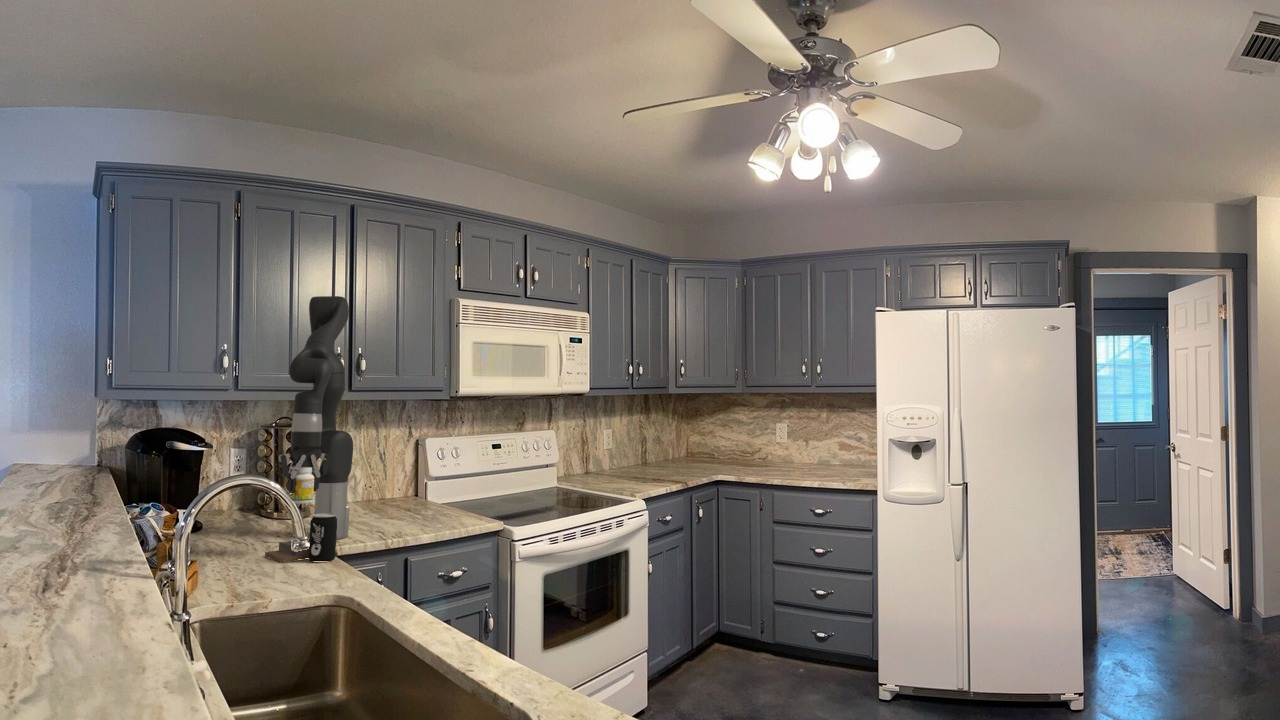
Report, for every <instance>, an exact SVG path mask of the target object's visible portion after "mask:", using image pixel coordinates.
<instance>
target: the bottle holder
mask: <svg viewBox="0 0 1280 720" xmlns="http://www.w3.org/2000/svg"><path fill="white" fill-rule="evenodd" d="M308 538H309V540H310V537H308ZM265 556H267V557H270V558H272V559H271V560H273V559H275V560H274V561H276V560H278V561H277V562H279V561H281V562H280V563H282V562H286V563H289V562H288V561H293V562H295V561H294V560H298V559H305V558H309V549H307V550H302V551H298V552H294V551H292V550H291V540H286V541H279V542H278V550H272V551H265V552H264V557H265ZM267 557H266V558H267ZM270 558H269V559H270Z"/></svg>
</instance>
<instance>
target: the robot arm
mask: <svg viewBox="0 0 1280 720" xmlns="http://www.w3.org/2000/svg"><path fill="white" fill-rule="evenodd" d="M308 313H309V323H310V324H309V325H310V335H309V337H308V338H307V340H306V341H305V344H304V345H305V346H304V348H303V349H302V350H301V351H300V352H299V353H297V355H296V356H295V357H294V358H293V359H292V361H291V363H290V364H289V368H288V373H289V377H290V379H291V381H293V382H295V383H298V384H312V386H313V388H312V389H310V390H306V391H300V392H298V393H296V394H295V396H294V405H293V416H292V422H291V436H290V449H289V452H288V453H285V454H278V456H277V461H278V469H279V476H280V477H283V478H286V479H287V482H286V490H287V492H288V493H289V494H292V493H295V482H296V479H294V478H295V476H296V475H297V472H298V471H299V470H300V468H301V467H312V473H311V475H313V476H314V494H315V495H314V510H313V511H314V512H313V515H314V514H321V513H333V514H336V518H337V540H340V539H344V538H348V537H349V522H350V506H349V505H347V504H348V489H349V488H348V487H349V486H348V485H349V476H350V474H351V471H352V465H353V455H354V440H353V437H352V436H351V434H350V433H349V432H347V431H345V430H339V429H338V430H337V425H336V424H337V421H336V420H337V411H338V407H339V406H340V403H341V401H342V398H343V395H344V394H345V390H346V373H345V372H346V368H345V366H344V364H343V362H342V360H341V358H340V357H339V356H338V354H337V353H336V352H335V350H334V349H333V346H334V344H335V342H336V340H337V338H338V337H339V336H340V334H341V333H342V331H343V329H344V327H345V326H346V324H347V322H348V320H349V318H350V308H349V303H348V299H346V297H344V296H337V295H333V296H332V295H331V296H330V295H329V296H328V295H326V296H323V295H321V296H318V295H317V296H312V297H311V298H310V300H309V305H308ZM289 459H290V461H291V464H290V465H289V469H288V462H289ZM319 459H320V461H321V462H320V466H319V464H318V461H319Z"/></svg>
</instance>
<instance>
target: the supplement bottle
mask: <svg viewBox="0 0 1280 720" xmlns="http://www.w3.org/2000/svg"><path fill="white" fill-rule="evenodd" d="M311 473H312V467H301V468H300V470H299V471H298V472H297V474H296V476H295V478H294V479H296V482H295V493H291V500H292V499H293V500H294V502H295V503H294V504H300V505H301V504H302V505H303V504H311V503H313V502H314V494H315V492H314V476H313V475H312V474H311Z"/></svg>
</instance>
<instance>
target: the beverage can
mask: <svg viewBox="0 0 1280 720" xmlns="http://www.w3.org/2000/svg"><path fill="white" fill-rule="evenodd" d="M309 525H310V526H309V527H310V528H309V538H310V540H309V542H310V547H309V559H308V560H309V561H310V562H311V561H330V562H332V560H333V561H334V559H336V556H337V540H338V539H337V518H336V514H333V513H321V514H314V513H313V514H312V518H311V520H310V524H309Z"/></svg>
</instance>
